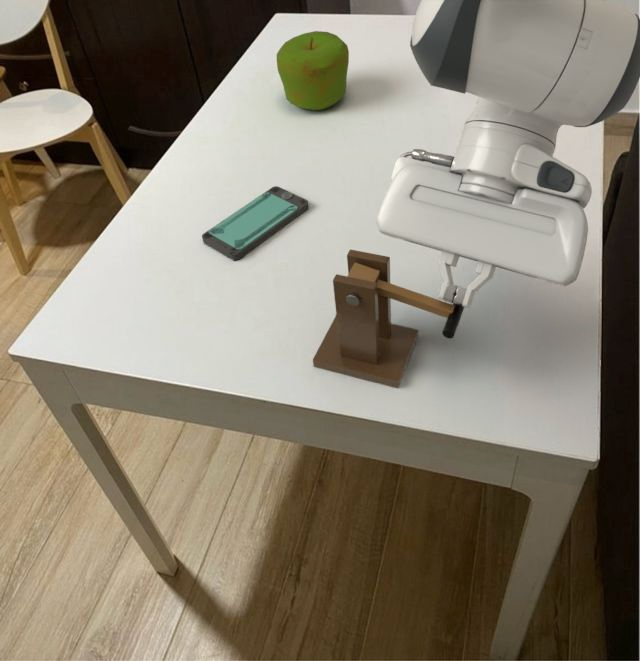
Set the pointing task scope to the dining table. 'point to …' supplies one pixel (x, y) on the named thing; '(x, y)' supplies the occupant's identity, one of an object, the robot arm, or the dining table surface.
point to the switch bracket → (365, 328)
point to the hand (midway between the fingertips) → (453, 303)
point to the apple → (313, 69)
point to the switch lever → (412, 298)
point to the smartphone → (255, 222)
